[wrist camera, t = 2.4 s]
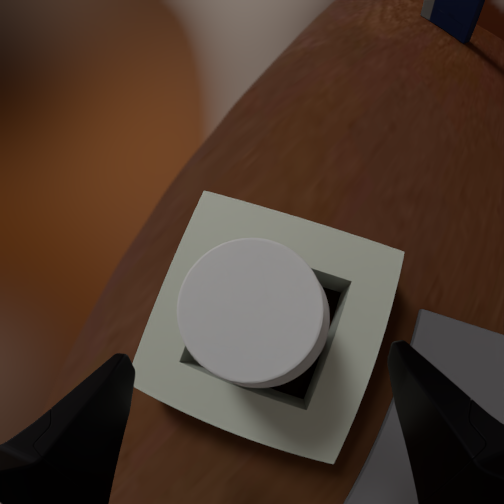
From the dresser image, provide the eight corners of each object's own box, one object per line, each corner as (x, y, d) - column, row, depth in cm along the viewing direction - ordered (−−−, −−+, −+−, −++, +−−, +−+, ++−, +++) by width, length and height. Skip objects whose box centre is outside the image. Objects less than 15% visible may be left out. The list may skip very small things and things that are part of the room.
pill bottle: (313, 280, 19) (336, 217, 10) (317, 371, 18) (348, 396, 8) (223, 284, 20) (166, 227, 11) (223, 374, 18) (162, 397, 9)
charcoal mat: (473, 510, 12) (475, 512, 12) (343, 503, 15) (344, 506, 14) (534, 346, 15) (537, 346, 15) (419, 310, 18) (422, 308, 17)
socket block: (326, 445, 16) (333, 464, 13) (151, 378, 19) (125, 382, 15) (386, 267, 19) (404, 252, 16) (216, 214, 21) (203, 190, 18)
